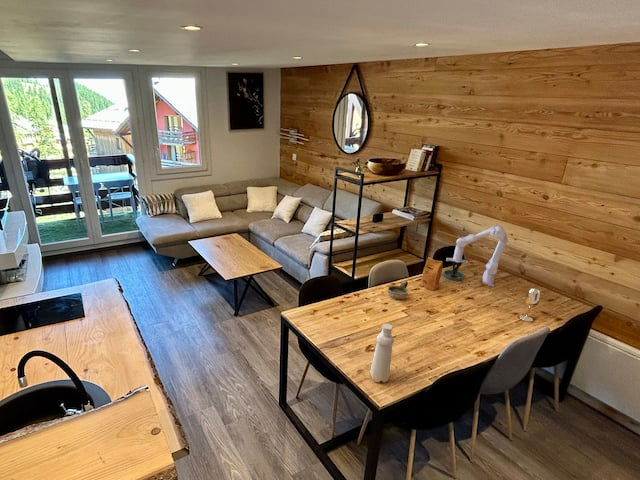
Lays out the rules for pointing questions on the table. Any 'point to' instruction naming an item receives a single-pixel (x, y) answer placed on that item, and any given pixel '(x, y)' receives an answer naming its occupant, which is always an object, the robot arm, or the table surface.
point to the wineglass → (531, 302)
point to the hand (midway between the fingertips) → (454, 270)
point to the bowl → (399, 290)
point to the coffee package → (431, 274)
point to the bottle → (382, 355)
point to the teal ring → (453, 277)
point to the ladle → (453, 273)
